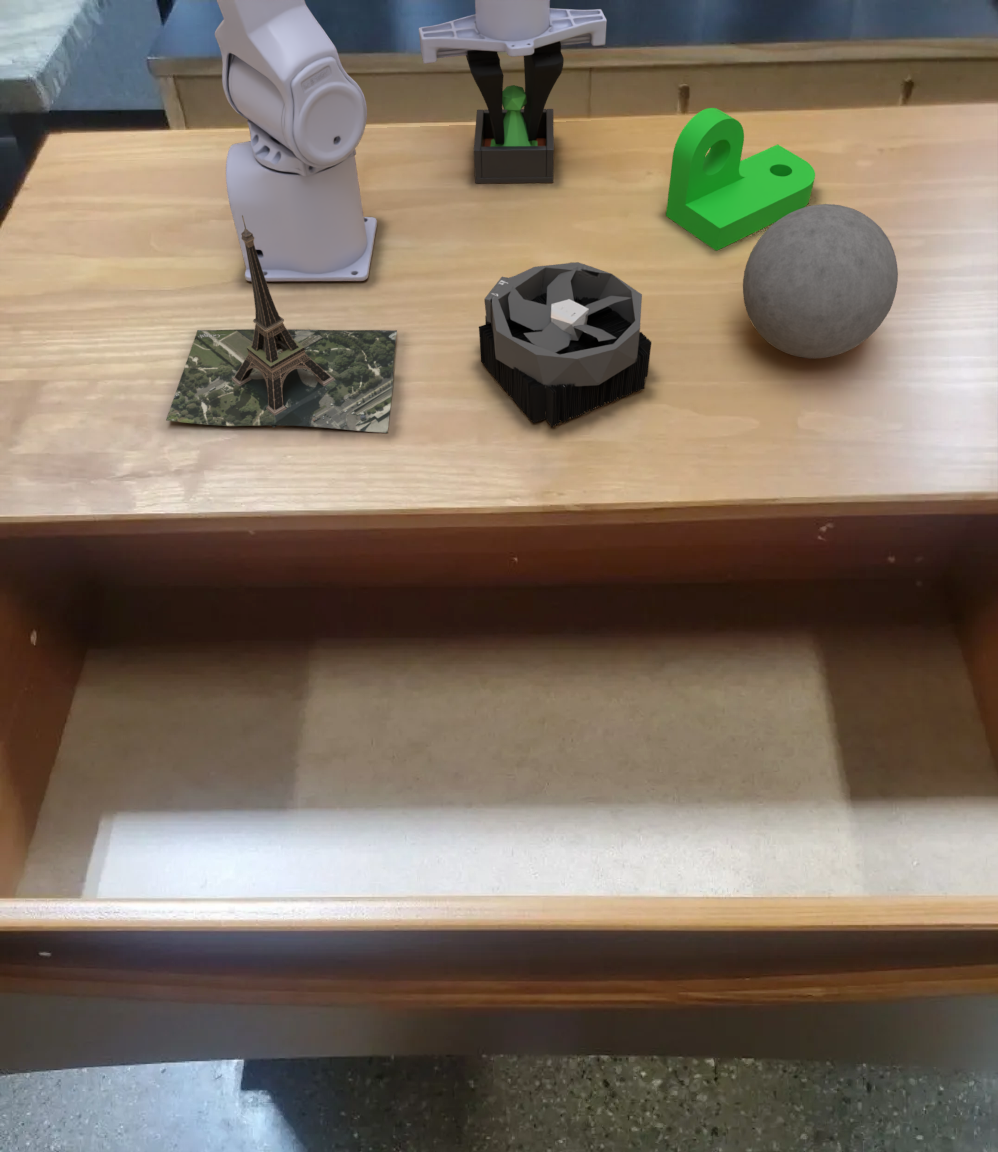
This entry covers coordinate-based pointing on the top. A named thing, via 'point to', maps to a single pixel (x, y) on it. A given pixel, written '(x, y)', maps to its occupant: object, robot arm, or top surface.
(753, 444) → the top surface
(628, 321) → the cpu cooler
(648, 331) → the top surface
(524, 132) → the game piece
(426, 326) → the top surface
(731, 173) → the mechanical part
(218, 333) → the eiffel tower figurine
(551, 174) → the pad holder
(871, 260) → the decorative ball
